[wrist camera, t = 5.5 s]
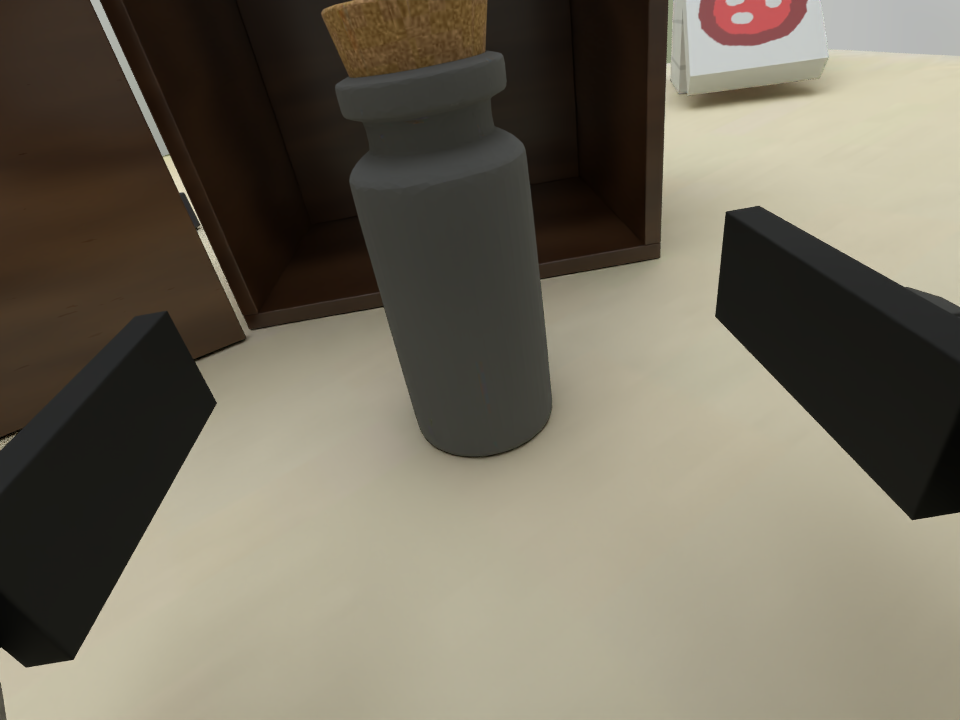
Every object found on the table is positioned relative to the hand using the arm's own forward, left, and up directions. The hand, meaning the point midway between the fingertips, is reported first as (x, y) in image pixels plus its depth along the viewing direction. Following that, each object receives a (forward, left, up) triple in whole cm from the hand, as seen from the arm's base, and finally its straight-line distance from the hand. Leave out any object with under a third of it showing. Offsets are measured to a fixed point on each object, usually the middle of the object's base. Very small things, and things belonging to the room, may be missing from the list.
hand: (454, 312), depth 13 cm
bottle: (+5, -4, -9) cm, 11 cm away
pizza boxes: (+28, -78, -9) cm, 83 cm away
